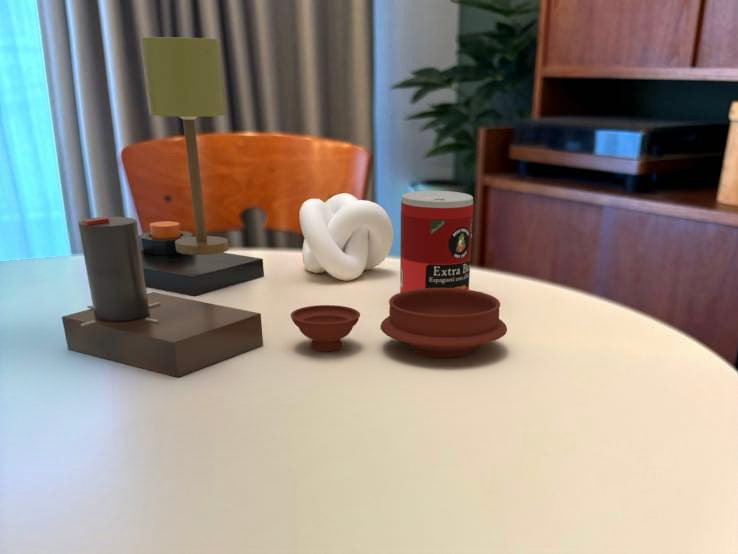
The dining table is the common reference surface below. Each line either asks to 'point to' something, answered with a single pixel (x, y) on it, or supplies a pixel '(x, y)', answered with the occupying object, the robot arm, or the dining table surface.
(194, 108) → the desk lamp
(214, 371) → the dining table surface
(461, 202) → the canned food
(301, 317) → the pottery
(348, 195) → the white knot sculpture
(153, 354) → the panel
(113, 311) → the dimmer knob
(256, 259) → the lamp base
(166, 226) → the lamp switch
